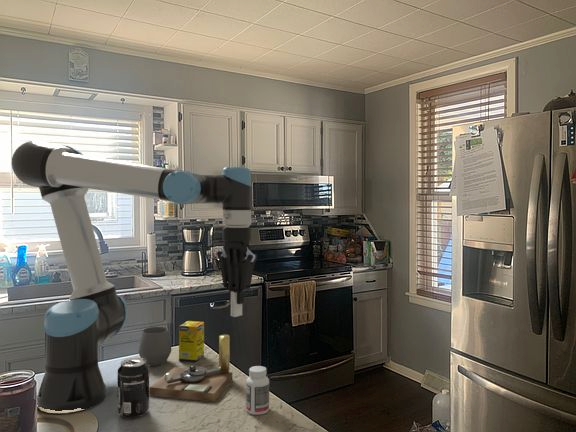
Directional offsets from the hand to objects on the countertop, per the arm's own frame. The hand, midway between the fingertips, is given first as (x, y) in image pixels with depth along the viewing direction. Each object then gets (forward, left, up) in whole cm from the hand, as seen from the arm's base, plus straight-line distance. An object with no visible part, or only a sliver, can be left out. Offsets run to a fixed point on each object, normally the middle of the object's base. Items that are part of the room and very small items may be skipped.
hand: (236, 315), depth 121 cm
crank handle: (-9, -3, -16) cm, 19 cm away
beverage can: (-17, -21, -19) cm, 33 cm away
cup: (-28, +10, -19) cm, 35 cm away
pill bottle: (+10, -13, -19) cm, 25 cm away
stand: (-10, -4, -18) cm, 22 cm away
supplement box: (-19, +16, -19) cm, 31 cm away
